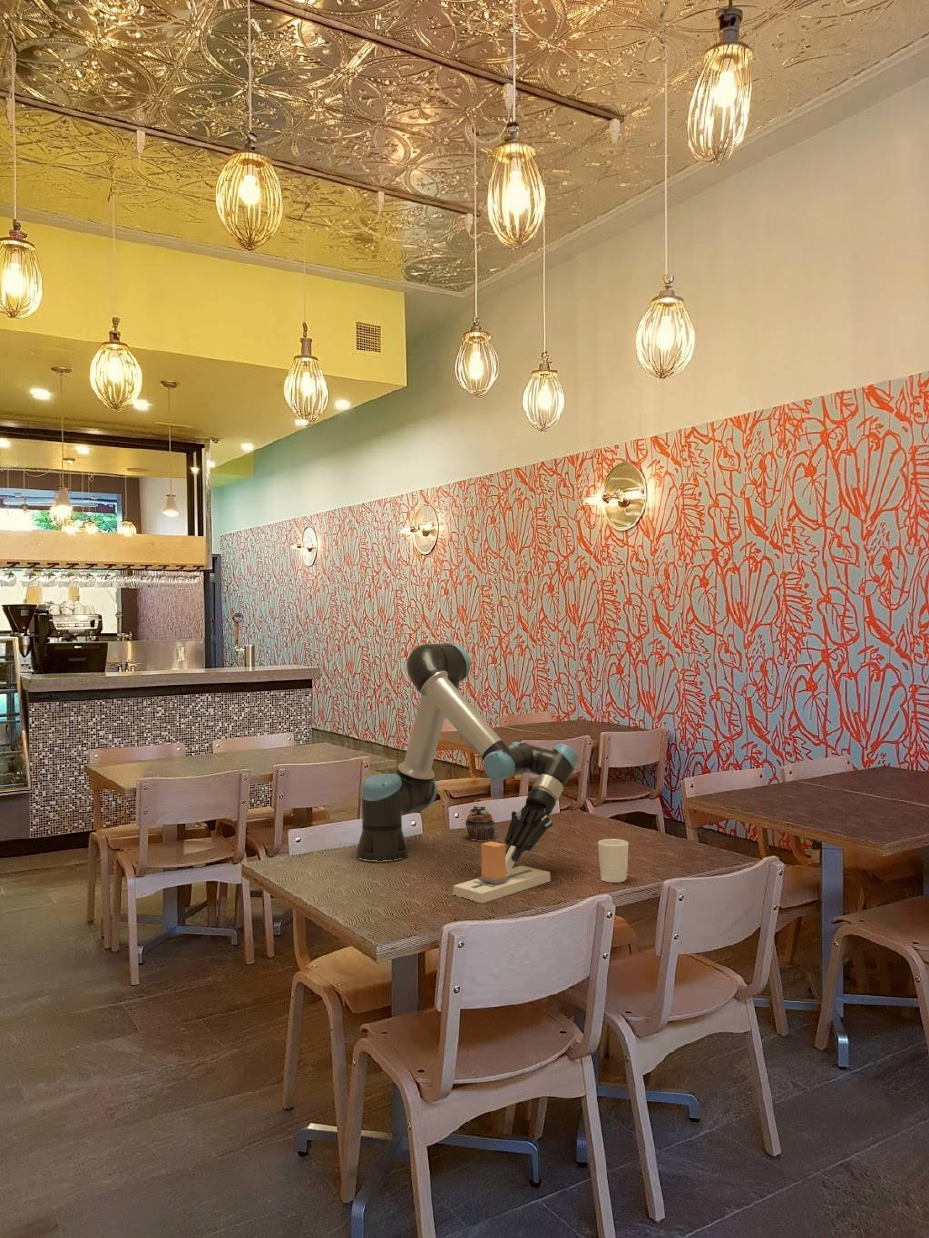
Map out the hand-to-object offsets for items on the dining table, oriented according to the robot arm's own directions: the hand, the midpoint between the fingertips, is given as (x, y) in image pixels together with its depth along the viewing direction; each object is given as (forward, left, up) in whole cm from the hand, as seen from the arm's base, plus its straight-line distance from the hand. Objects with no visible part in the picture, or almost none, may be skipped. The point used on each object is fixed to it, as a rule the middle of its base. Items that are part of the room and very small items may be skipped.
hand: (504, 870), depth 231 cm
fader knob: (+1, -3, -2) cm, 4 cm away
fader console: (-1, 0, -5) cm, 5 cm away
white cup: (+1, +30, -5) cm, 30 cm away
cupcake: (-56, +10, -5) cm, 57 cm away
